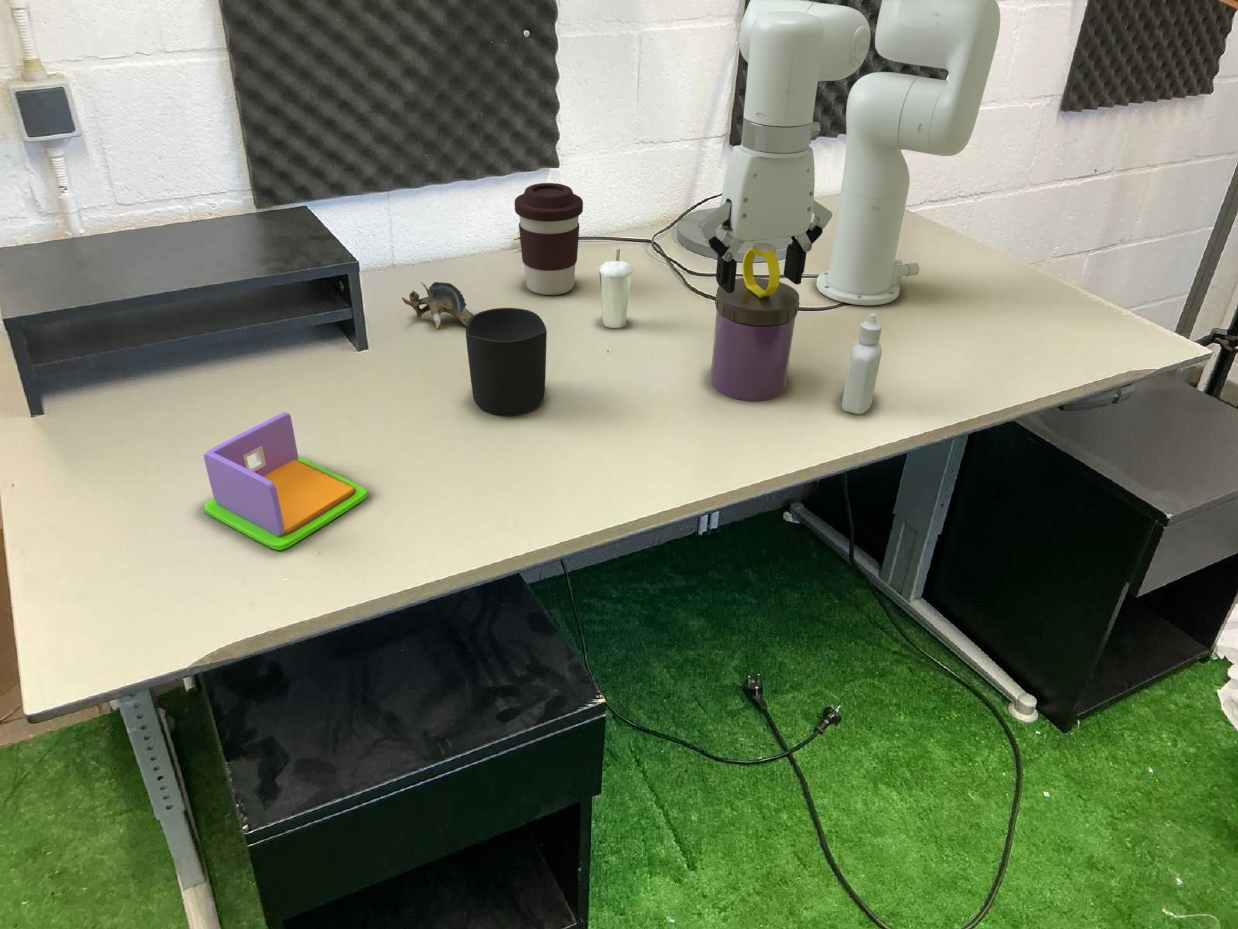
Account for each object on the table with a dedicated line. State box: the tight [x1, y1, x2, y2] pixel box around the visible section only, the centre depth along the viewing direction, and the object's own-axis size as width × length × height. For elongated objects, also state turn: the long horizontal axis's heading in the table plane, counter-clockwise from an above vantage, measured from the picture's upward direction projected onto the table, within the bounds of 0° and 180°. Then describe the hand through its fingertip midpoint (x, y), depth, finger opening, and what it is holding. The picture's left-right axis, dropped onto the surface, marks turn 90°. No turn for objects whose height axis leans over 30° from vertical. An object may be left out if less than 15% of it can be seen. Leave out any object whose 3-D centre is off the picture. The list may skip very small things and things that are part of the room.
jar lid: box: [714, 277, 800, 326], centre depth 116 cm, size 10×10×2 cm
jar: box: [709, 309, 796, 402], centre depth 119 cm, size 10×10×12 cm
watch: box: [741, 241, 781, 298], centre depth 114 cm, size 6×3×6 cm, turn 27°
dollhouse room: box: [203, 411, 368, 551], centre depth 96 cm, size 12×12×7 cm
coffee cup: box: [514, 182, 584, 296], centre depth 143 cm, size 10×10×15 cm
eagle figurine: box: [401, 280, 475, 330], centre depth 134 cm, size 8×7×9 cm
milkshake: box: [598, 247, 633, 329], centre depth 134 cm, size 4×5×10 cm
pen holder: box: [465, 307, 548, 417], centre depth 115 cm, size 9×9×10 cm
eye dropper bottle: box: [841, 313, 883, 415], centre depth 115 cm, size 4×6×12 cm
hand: (759, 283), depth 115 cm, fingers open, 8 cm apart
